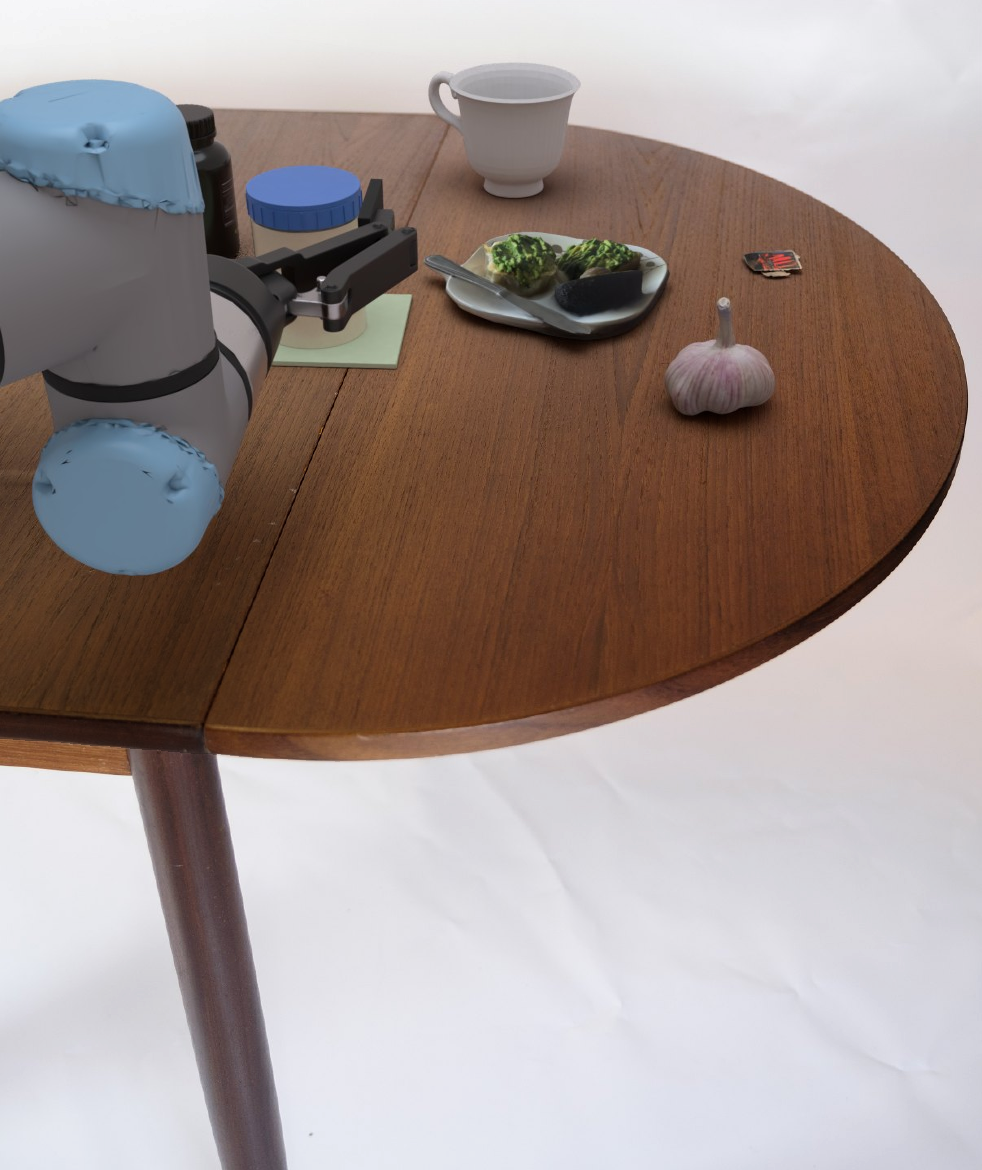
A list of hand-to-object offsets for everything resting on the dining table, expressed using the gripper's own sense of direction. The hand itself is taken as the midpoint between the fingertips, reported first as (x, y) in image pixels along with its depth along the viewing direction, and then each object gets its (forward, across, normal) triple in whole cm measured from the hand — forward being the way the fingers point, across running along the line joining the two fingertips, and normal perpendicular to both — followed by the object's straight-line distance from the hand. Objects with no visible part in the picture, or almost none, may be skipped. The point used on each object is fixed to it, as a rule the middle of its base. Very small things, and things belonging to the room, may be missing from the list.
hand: (272, 195), depth 83 cm
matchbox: (+24, +37, -14) cm, 46 cm away
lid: (+10, 0, -3) cm, 10 cm away
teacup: (+42, +13, -15) cm, 46 cm away
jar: (+10, 0, -14) cm, 17 cm away
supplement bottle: (+24, -12, -15) cm, 30 cm away
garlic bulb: (0, +30, -14) cm, 33 cm away
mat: (+10, 0, -14) cm, 17 cm away
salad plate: (+16, +19, -14) cm, 29 cm away
